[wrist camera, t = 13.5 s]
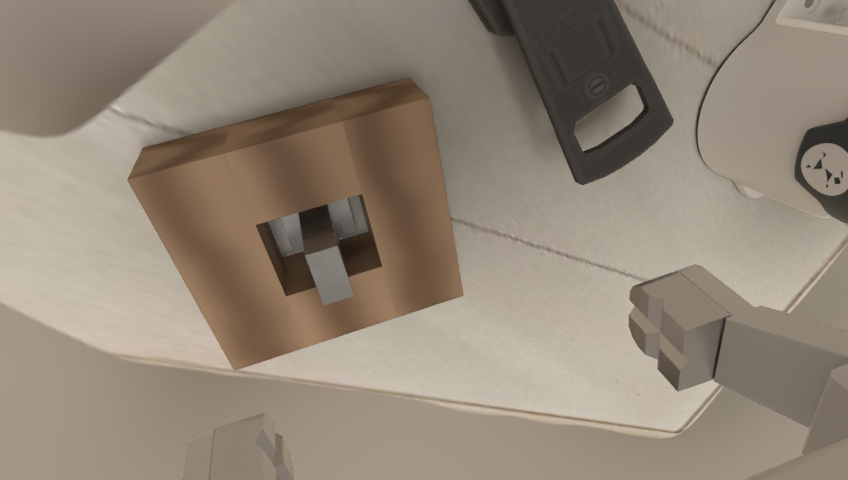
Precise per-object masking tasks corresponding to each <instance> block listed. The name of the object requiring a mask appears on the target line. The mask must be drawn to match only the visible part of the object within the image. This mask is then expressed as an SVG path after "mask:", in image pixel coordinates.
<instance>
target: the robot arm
mask: <svg viewBox="0 0 848 480" xmlns="http://www.w3.org/2000/svg"><path fill="white" fill-rule="evenodd" d="M698 145H699V150H700V153H701V156H702V158H703V160H704V162H705V163H706V165H707V166H708V167H709V168H710V169H711V170H712V171H713V172H715V173H717V174H718V175H721V176H723V177H726V178H728V179H730V180H732V181H733V182H734V184H735V185H736V187H737V189H738V190H739V192H740V193H741V194H742V195H744V196H747V197H749V198H752V199H757V198H760V197H762V196H764V195H765V196H767V197H769V198H772V199H774V200H777V201H779V202H781V203H784V204H786V205H789V206H791V207H794V208H796V209H798V210H801V211H803V212H806V213H808V214H811V215H813V216H816V217H819V218H829V217H834V218H836V219H838V220H840V221H842V222H844V223H846V225H847V226H848V0H776V1H775V3H774V4H773V6H772V7H771V9H770V10H769V12H768V14H767V15H766V17H765V19H764V20H763V22H762V23H761V24H760V25H759V27H758V28H757V29H756V30H755V31H754V32H753V33H752V34H751V35H750V36H749V37H748V38H747V39H745V40H744V41H743V42H742V43H741V44H740V45H739V46H738V47H737V48H736V50H735V51H734V52H733V53H732V54H731V55H730V57H729V58H728V59H727V60H726V62H725V63H724V64H723V66H722V67H721V69H720V70H719V72H718V73H717V75H716V77H715V78H714V80H713V82H712V84H711V86H710V88H709V90H708V92H707V95H706V97H705V100H704V103H703V106H702V109H701V113H700V117H699V123H698ZM630 301H631V302H632V303H633V304H634V305H635V307H634V308H633V310H632V311H631V313H630V314H629V328H630V331H631V334H632V337H633V339H634V341H635V342H636V344H637V346H638V347H639V348H640V349H641V350H642V352H643V353H644V354H645V355H648V356H650V357H653V358H655V359H658V370H659V371H660V372H661V373H662V374H663V376H664V377H665V378H666V379H667V380H668V381H669V382H670V383H671V385H672V386H673V387H674V388H675V389H676V390H677V391H681V390H684V389H687V388H690V387H693V386H695V385H698V384H701V383H704V382H707V381H710V380H713V379H714V382H716V383H718V384H721V385H723V386H725V387H727V388H729V389H731V390H733V391H735V392H737V393H739V394H741V395H743V396H745V397H747V398H749V399H751V400H753V401H755V402H758V403H759V404H761V405H763V406H765V407H767V408H769V409H771V410H774V411H776V412H778V413H780V414H782V415H784V416H786V417H788V418H790V419H792V420H794V421H796V422H798V423H800V424H802V425H804V426H806V427H808V428H809V430H808V433H807V436H806V438H805V441H804V444H803V449H802V453H803V456H800V457H798V458H795V459H793V460H790V461H788V462H785V463H783V464H780V465H778V466H775V467H773V468H770V469H768V470H765V471H763V472H760V473H757V474H755V475H752V476H750V477H747V478H745V479H742V480H848V330H845V329H842V328H838V327H835V326H831V325H828V324H824V323H821V322H817V321H814V320H810V319H807V318H803V317H799V316H796V315H792V314H789V313H785V312H782V311H778V310H775V309H771V308H768V307H764V306H758V307H755V308H754V307H753V306H752V305H751V304H749V303H748V302H747V301H746V300H744V299H743V298H742V297H740V296H739V295H738V294H737V293H735V292H734V291H733V290H731V289H730V288H729V287H728V286H726V285H725V284H724V283H723V282H721V281H720V280H719V279H717V278H716V277H715V276H714V275H712V274H711V273H710V272H708V271H707V270H706V269H705V268H703V267H702V266H699V265H696V264H695V265H692V266H689V267H686V268H683V269H680V270H678V271H675V272H673V273H669V274H666V275H663V276H660V277H657V278H655V279H652V280H649V281H646V282H643V283H640V284H638V285H635V286H633V287H632V289H631V291H630ZM182 480H294V474H293V465H292V460H291V455H290V452H289V449H288V447H287V444H286V442H285V440H284V438H283V436H281V435H279V434H276V433H275V423H274V421H273V419H272V418H271V416H270V414H269V413H262V414H259V415H256V416H253V417H249V418H246V419H243V420H240V421H237V422H234V423H230V424H227V425H224V426H221V427H218V428H216V429H213V430H210V431H206V432H203V433H200V434H197V435H194V436H192V437H191V439H190V441H189V443H188V445H187V452H186V459H185V465H184V472H183V479H182Z"/></svg>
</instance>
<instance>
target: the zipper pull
mask: <svg viewBox="0 0 848 480" xmlns="http://www.w3.org/2000/svg"><path fill="white" fill-rule="evenodd" d="M469 2H470V3H471V5H472V6H473V8H474V10H475V11H476V13H477V14H478V16H479V17H480V19H481V21H482V22H483V23H484V25H485V26H486V28H487V30H489V31H490V32H493V33H495V34H497V35H499V36H511V35H516V37H517V40H518V42H519V45H520V47H521V49H522V52H523V54H524V57H525V59H526V62H527V64H528V67H529V69H530V71H531V74H532V76H533V79H534V81H535V84H536V86H537V88H538V91H539V93H540V96H541V98H542V101H543V103H544V106H545V108H546V110H547V113H548V115H549V118H550V120H551V123H552V125H553V128H554V130H555V133H556V136H557V139H558V141H559V144H560V146H561V148H562V151H563V153H564V156H565V158H566V160H567V163H568V165H569V168H570V170H571V172H572V175H573V177H574V180H575V181H576V182H577V183H579V184H581V185H584V184H587V183H590V182H593V181H595V180H598V179H601V178H603V177H606V176H607V175H609V174H611V173H613V172H615V171H616V170H618V169H620V168H622V167H623V166H625V165H626V164H628V163H629V162H631V161H632V160H634V159H635V158H637V157H638V156H640V155H641V154H642V153H643V152H644V151H646V150H647V149H648V148H649V147H651V146H652V145H653V144H654V143H656V141H657V140H658V139H659V138H660V137H661V136H662V135H663V134H664V133H665V132H666V131H667V130H668V129H669V128H670V127H671V126H672V124H673V118H672V116H671V114H670V112H669V110H668V108H667V106H666V104H665V102H664V100H663V97H662V95H661V93H660V91H659V89H658V87H657V85H656V83H655V81H654V79H653V77H652V75H651V74H650V72H649V70H648V68H647V66H646V64H645V62H644V60H643V58H642V56H641V54H640V52H639V50H638V48H637V46H636V44H635V42H634V40H633V38H632V36H631V34H630V32H629V30H628V28H627V26H626V24H625V22H624V20H623V18H622V16H621V14H620V12H619V10H618V8H617V6H616V4H615V2H614V0H469ZM630 84H633V85H635V86H636V88H637V90H638V93H639V95H640V97H641V100H642V102H643V105H644V109H643V111H642V112H641V113H640V114H639V115H638V116H637V117H636V118H635V120H634V121H633V122H632V123H631V124H629V125H628V126H626V127H625V128H623V129H622V130H620V131H619V132H617V133H616V134H614V135H613V136H611V137H610V138H609V139H607V140H606V141H604V142H603V143H601V144H600V145H598V146H596V147H593V148H591V149H588V150H586V151H582V149H581V147H580V145H579V143H578V141H577V139H576V137H575V135H574V128H575V122H576V121H578V120H579V119H581V118H582V117H583V116H585V115H586V114H588V113H589V112H591V111H592V110H594V109H595V108H597V107H598V106H600V105H601V104H602V103H604V102H605V101H607V100H608V99H610V98H611V97H613V96H614V95H616V94H617V93H618V92H620V91H621V90H623V89H624V88H626V87H627V86H629V85H630Z"/></svg>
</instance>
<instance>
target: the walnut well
mask: <svg viewBox="0 0 848 480" xmlns="http://www.w3.org/2000/svg"><path fill="white" fill-rule="evenodd" d="M128 182H129V184H130V185H131V187H132V189H133V191H134V193H135V194H136V196H137V198H138V200H139V201H140V203H141V205H142V207H143V209H144V210H145V212H146V214H147V216H148V218H149V219H150V221H151V223H152V225H153V226H154V228H155V230H156V232H157V234H158V235H159V237H160V239H161V241H162V243H163V244H164V246H165V248H166V250H167V251H168V253H169V255H170V257H171V259H172V260H173V262H174V264H175V266H176V267H177V269H178V271H179V273H180V275H181V276H182V278H183V280H184V282H185V284H186V285H187V287H188V289H189V291H190V292H191V294H192V296H193V298H194V300H195V301H196V303H197V305H198V307H199V308H200V310H201V312H202V314H203V316H204V317H205V319H206V321H207V323H208V325H209V326H210V328H211V330H212V332H213V333H214V335H215V337H216V339H217V341H218V342H219V344H220V346H221V348H222V350H223V351H224V353H225V355H226V357H227V358H228V360H229V362H230V364H231V366H232V367H233V369H234V371H235V370H238V369H241V368H244V367H247V366H250V365H253V364H256V363H260V362H263V361H266V360H269V359H272V358H275V357H278V356H281V355H284V354H287V353H290V352H293V351H296V350H299V349H302V348H305V347H308V346H311V345H314V344H317V343H320V342H324V341H327V340H330V339H333V338H336V337H339V336H342V335H345V334H348V333H351V332H354V331H357V330H360V329H363V328H366V327H369V326H372V325H375V324H378V323H381V322H384V321H388V320H391V319H394V318H397V317H400V316H403V315H406V314H409V313H412V312H415V311H418V310H421V309H424V308H427V307H430V306H433V305H436V304H439V303H442V302H445V301H448V300H452V299H455V298H458V297H461V296H464V294H463V289H462V283H461V277H460V271H459V266H458V260H457V254H456V248H455V243H454V237H453V231H452V225H451V220H450V214H449V208H448V202H447V197H446V191H445V185H444V179H443V174H442V168H441V162H440V156H439V151H438V145H437V139H436V133H435V128H434V122H433V116H432V110H431V105H430V99H429V97H428V96H427V95H426V94H425V93H424V92H423V91H422V90H421V89H420V88H419V87H418V86H417V85H416V84H415V83H414V82H413V81H412V80H411V79H410V78H406V79H402V80H398V81H394V82H391V83H387V84H383V85H379V86H376V87H372V88H368V89H364V90H360V91H357V92H353V93H349V94H345V95H342V96H338V97H334V98H330V99H326V100H323V101H319V102H315V103H311V104H308V105H304V106H300V107H296V108H292V109H289V110H285V111H281V112H277V113H274V114H270V115H266V116H262V117H258V118H255V119H251V120H247V121H243V122H240V123H236V124H232V125H228V126H224V127H221V128H217V129H213V130H209V131H206V132H202V133H198V134H194V135H190V136H187V137H183V138H179V139H175V140H172V141H168V142H164V143H160V144H156V145H153V146H149V147H145V148H143V149H142V151H141V153H140V155H139V157H138V159H137V161H136V163H135V165H134V167H133V169H132V171H131V174H130V176H129V178H128ZM357 195H359V197H360V201H361V204H362V208H363V211H364V215H365V218H366V222H367V225H368V229H369V232H368V233H365V234H361V235H358V236H355V237H351V238H348V239H345V240H341V241H339V242H340V246H341V250H342V253H343V257H344V261H345V265H346V268H347V272H348V276H349V279H350V283H351V287H352V291H353V294H354V296H352V297H349V298H346V299H343V300H340V301H336V302H333V303H330V304H327V305H323V302H322V300H321V297H320V294H319V292H318V289H317V286H316V284H315V281H314V279H313V276H312V273H311V271H310V268H309V265H308V263H307V260H306V257H305V253H304V252H302V253H299V254H295V255H292V256H289V257H285V258H282V256H281V253H280V251H279V248H278V246H277V243H276V241H275V239H274V236H273V234H272V231H271V229H270V226H269V224H268V221H271V220H275V219H278V218H282V217H285V216H289V215H292V214H295V213H299V212H302V211H306V210H309V209H312V208H316V207H319V206H323V205H326V204H330V203H333V202H336V201H340V200H343V199H347V198H350V197H354V196H357Z"/></svg>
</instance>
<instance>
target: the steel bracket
mask: <svg viewBox="0 0 848 480" xmlns="http://www.w3.org/2000/svg"><path fill="white" fill-rule="evenodd" d="M280 219H281V221H282V224H283V226H284V229H285V231H286V234H287V237H288V239H289V242H290V244H291V247H292V249H293V251H295V250H299V249H302V248H304V253H305V257H306V260H307V263H308V265H309V268H310V271H311V273H312V276H313V279H314V281H315V284H316V286H317V289H318V292H319V294H320V297H321V300H322V302H323V305H327V304H330V303H333V302H336V301H340V300H343V299H346V298H349V297H352V296H354V294H353V291H352V287H351V283H350V279H349V276H348V272H347V268H346V265H345V261H344V257H343V253H342V250H341V246H340V242H339V237H342V236H345V235H349V234H352V233H355V232H357V229H356V226H355V223H354V219H353V216H352V213H351V209H350V206H349V202H348V199H343V200H340V201H336V202H333V203H330V204H326V205H323V206H319V207H316V208H312V209H309V210H306V211H302V212H299V213H295V214H292V215H289V216H285V217H282V218H280Z"/></svg>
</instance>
